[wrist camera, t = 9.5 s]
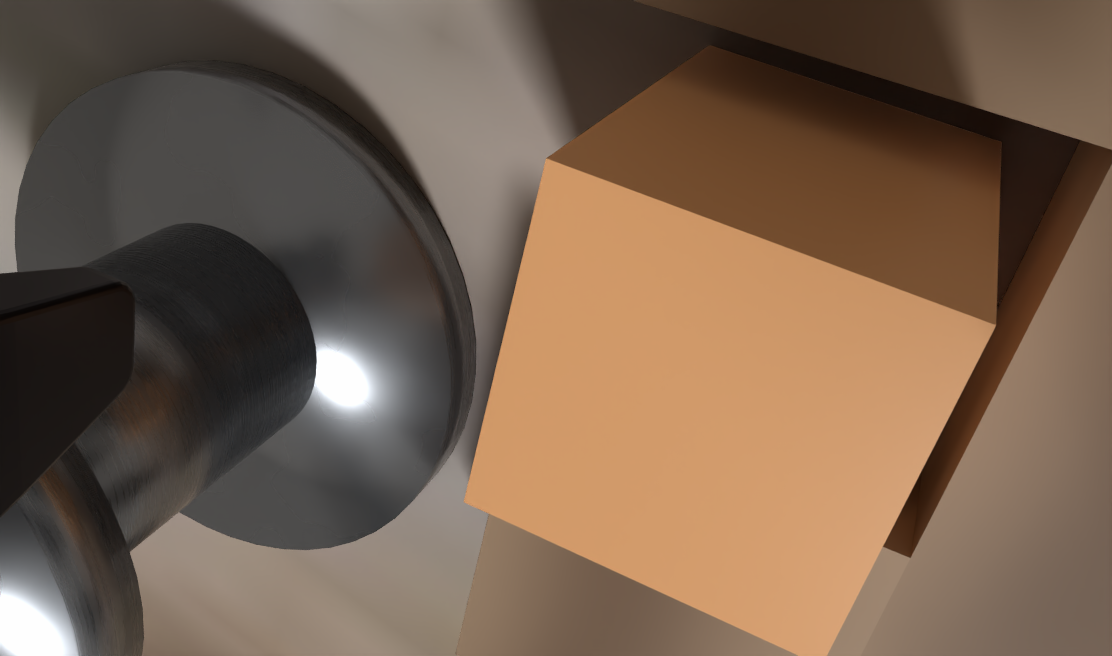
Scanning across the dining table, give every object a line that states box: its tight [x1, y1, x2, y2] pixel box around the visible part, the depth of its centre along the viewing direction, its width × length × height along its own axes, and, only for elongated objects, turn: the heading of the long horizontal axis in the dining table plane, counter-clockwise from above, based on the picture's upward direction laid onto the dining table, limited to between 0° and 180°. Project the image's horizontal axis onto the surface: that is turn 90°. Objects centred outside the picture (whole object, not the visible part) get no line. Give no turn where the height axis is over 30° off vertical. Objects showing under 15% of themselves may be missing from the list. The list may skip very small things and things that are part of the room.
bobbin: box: [0, 61, 476, 656], centre depth 16 cm, size 9×9×8 cm
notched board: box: [455, 0, 1112, 656], centre depth 13 cm, size 11×16×2 cm
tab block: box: [464, 45, 1002, 656], centre depth 12 cm, size 4×4×6 cm
